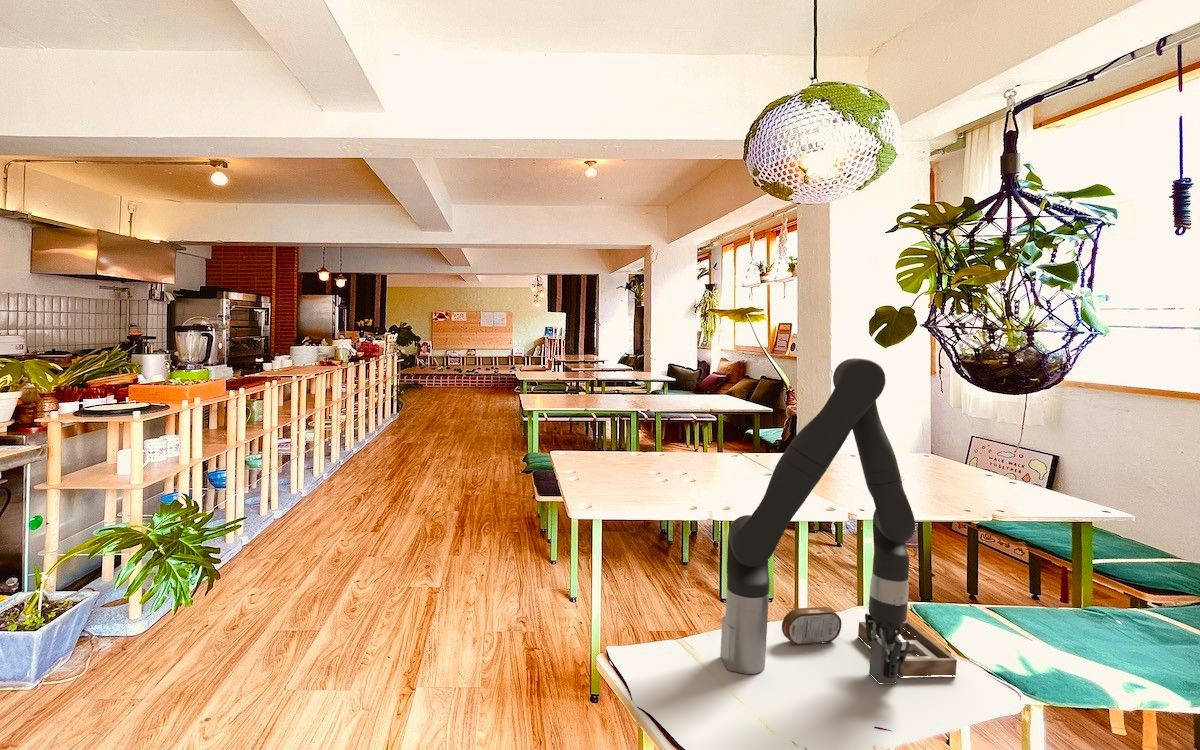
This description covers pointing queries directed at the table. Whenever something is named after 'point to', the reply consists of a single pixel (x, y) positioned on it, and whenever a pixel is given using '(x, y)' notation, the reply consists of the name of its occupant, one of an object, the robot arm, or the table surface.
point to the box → (919, 653)
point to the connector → (879, 662)
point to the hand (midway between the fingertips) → (883, 671)
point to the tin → (811, 625)
